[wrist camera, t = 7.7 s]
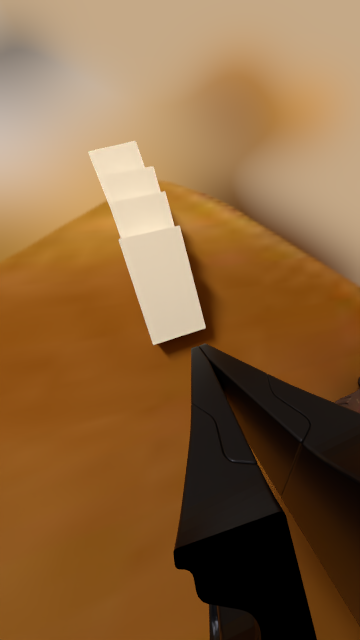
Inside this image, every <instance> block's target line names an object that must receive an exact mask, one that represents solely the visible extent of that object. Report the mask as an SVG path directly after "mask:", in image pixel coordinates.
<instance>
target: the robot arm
mask: <svg viewBox="0 0 360 640" xmlns="http://www.w3.org/2000/svg"><path fill="white" fill-rule="evenodd" d="M191 404H192V405H191V430H190V441H189V451H188V459H187V467H186V475H185V484H184V492H183V500H182V507H181V514H180V520H179V526H178V532H177V538H176V543H175V548H174V562H175V567H176V568H177V569H185V570H188V571H190V572H191V573H192V574H193V577H194V581H195V587H196V592H197V595H198V597H199V598H200V599H201V600H202V601H203V602H204V603H207V604H209V625H210V640H317V638H316V634H315V630H314V626H313V622H312V618H311V614H310V610H309V606H308V602H307V598H306V594H305V590H304V586H303V582H302V578H301V574H300V570H299V566H298V562H297V558H296V554H295V550H294V546H293V542H292V538H291V534H290V530H289V526H288V522H287V518H286V515H285V513H284V511H283V510H282V508H281V506H280V505H279V503H278V502H277V500H276V498H275V497H274V495H273V493H272V491H271V489H270V487H269V485H268V484H267V482H266V480H265V478H264V476H263V474H262V472H261V470H260V468H259V466H258V465H257V461H256V459H255V457H254V455H253V453H252V450H253V452H254V453H255V455H256V457H257V458H258V460H259V462H260V463H261V465H262V466H263V468H264V470H265V471H266V473H267V475H268V476H269V478H270V480H271V481H272V483H273V485H274V486H275V488H276V489H277V491H278V493H279V494H280V496H281V498H282V500H283V501H284V503H285V504H286V506H287V508H288V509H289V511H290V513H291V514H292V516H293V518H294V519H295V521H296V523H297V524H298V526H299V527H300V529H301V531H302V532H303V534H304V536H305V537H306V539H307V541H308V542H309V544H310V546H311V547H312V549H313V550H314V552H315V554H316V555H317V557H318V559H319V560H320V562H321V564H322V565H323V567H324V569H325V570H326V572H327V573H328V575H329V577H330V578H331V580H332V582H333V583H334V585H335V587H336V588H337V590H338V592H339V593H340V595H341V596H342V598H343V600H344V601H345V603H346V605H347V606H348V608H349V610H350V611H351V613H352V614H353V616H354V618H355V619H356V621H357V623H358V624H359V626H360V413H358V412H356V411H353V410H351V409H348V408H346V407H343V406H341V405H339V404H336V403H334V402H331V401H329V400H326V399H324V398H321V397H319V396H316V395H314V394H311V393H309V392H306V391H304V390H302V389H299V388H297V387H295V386H292V385H290V384H288V383H286V382H284V381H282V380H279V379H277V378H275V377H273V376H271V375H269V374H268V375H267V373H265V372H263V371H261V370H259V369H257V368H255V367H253V366H250V365H248V364H246V363H244V362H242V361H240V360H238V359H236V358H234V357H232V356H230V355H228V354H226V353H224V352H222V351H220V350H218V349H216V348H214V347H212V346H210V345H208V344H203V345H200V346H199V347H198V346H197V347H194V348H192V349H191ZM248 443H249V444H248ZM249 445H250V446H249ZM250 447H251V448H252V450H251V448H250Z"/></svg>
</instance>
